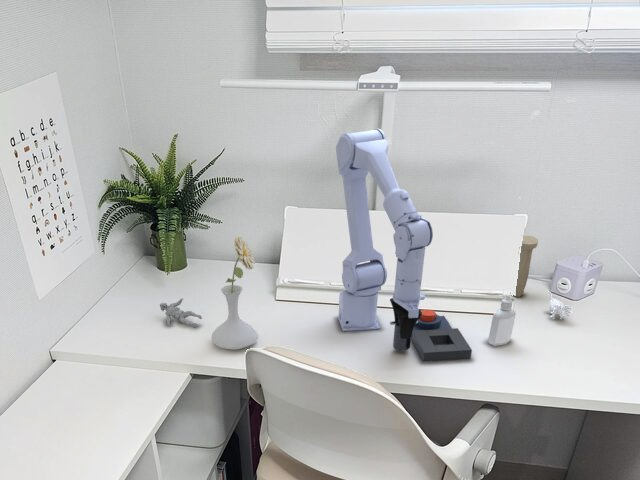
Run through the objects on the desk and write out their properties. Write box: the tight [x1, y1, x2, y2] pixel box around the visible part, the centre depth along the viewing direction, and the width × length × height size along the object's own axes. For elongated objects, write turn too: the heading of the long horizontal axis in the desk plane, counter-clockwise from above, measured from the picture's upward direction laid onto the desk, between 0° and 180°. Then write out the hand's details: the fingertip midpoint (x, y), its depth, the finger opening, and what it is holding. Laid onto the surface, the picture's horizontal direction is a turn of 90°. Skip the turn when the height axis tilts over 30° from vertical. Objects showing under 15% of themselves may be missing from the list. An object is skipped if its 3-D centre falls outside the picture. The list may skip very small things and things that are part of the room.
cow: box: [548, 290, 573, 320], centre depth 173 cm, size 12×5×5 cm, turn 179°
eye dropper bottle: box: [487, 293, 517, 347], centre depth 160 cm, size 4×6×12 cm
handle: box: [516, 235, 539, 298], centre depth 180 cm, size 5×6×15 cm
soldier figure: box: [159, 297, 203, 328], centre depth 174 cm, size 8×5×12 cm
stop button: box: [420, 309, 437, 322], centre depth 167 cm, size 4×4×2 cm
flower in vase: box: [210, 235, 259, 350], centre depth 158 cm, size 13×11×25 cm
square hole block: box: [411, 327, 473, 363], centre depth 160 cm, size 11×11×2 cm
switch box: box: [411, 313, 453, 338], centre depth 169 cm, size 11×8×3 cm
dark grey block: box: [389, 320, 418, 352], centre depth 158 cm, size 6×4×7 cm, turn 95°
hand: (402, 333), depth 158 cm, fingers closed on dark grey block, 4 cm apart
